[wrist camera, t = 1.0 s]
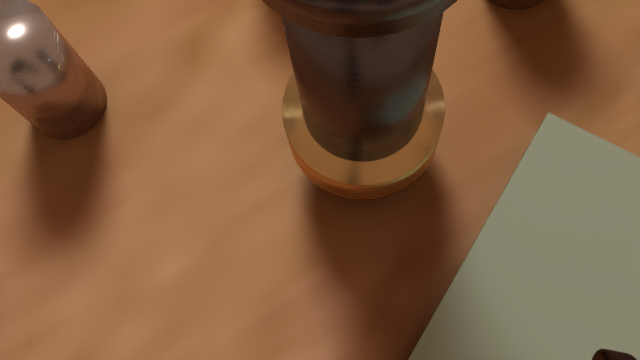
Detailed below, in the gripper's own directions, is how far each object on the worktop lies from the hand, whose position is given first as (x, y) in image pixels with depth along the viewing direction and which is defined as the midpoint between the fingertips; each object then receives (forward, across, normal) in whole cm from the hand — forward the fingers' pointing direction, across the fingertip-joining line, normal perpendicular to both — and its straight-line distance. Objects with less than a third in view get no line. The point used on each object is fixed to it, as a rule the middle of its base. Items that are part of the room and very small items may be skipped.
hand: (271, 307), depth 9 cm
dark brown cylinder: (+15, 0, +4) cm, 16 cm away
